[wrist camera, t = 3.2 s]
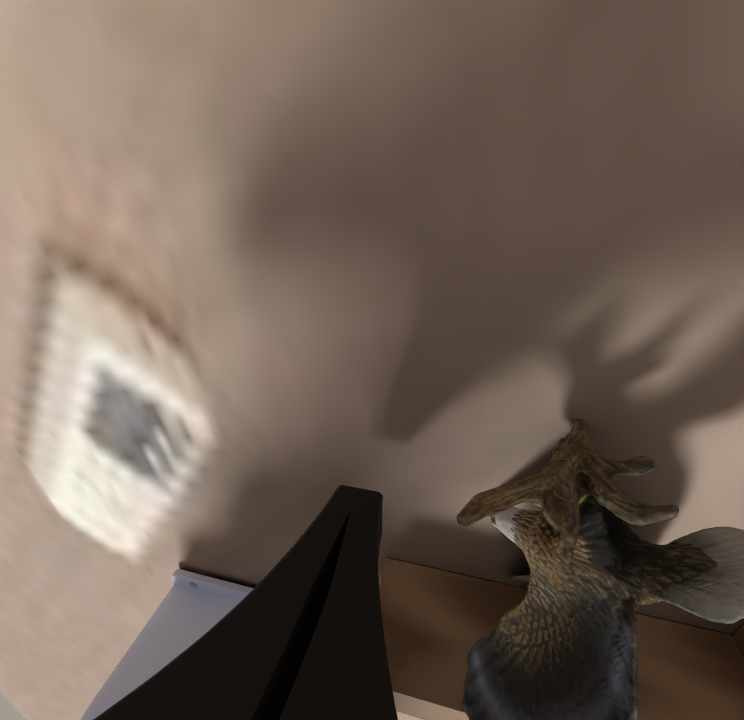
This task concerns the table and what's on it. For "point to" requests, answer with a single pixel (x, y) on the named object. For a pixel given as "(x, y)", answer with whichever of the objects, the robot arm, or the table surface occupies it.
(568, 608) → the eagle figurine
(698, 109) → the table surface
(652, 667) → the walnut corner bracket
